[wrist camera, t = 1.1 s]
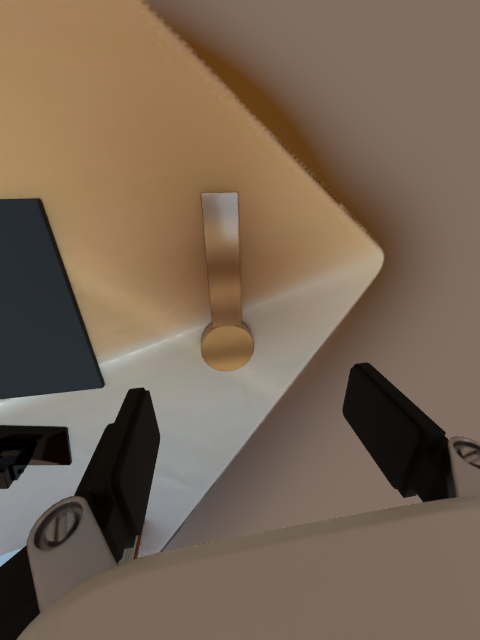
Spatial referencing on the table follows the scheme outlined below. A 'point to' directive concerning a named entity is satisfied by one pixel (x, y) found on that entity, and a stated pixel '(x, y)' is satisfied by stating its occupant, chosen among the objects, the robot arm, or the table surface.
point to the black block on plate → (31, 449)
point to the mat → (38, 310)
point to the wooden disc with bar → (224, 284)
